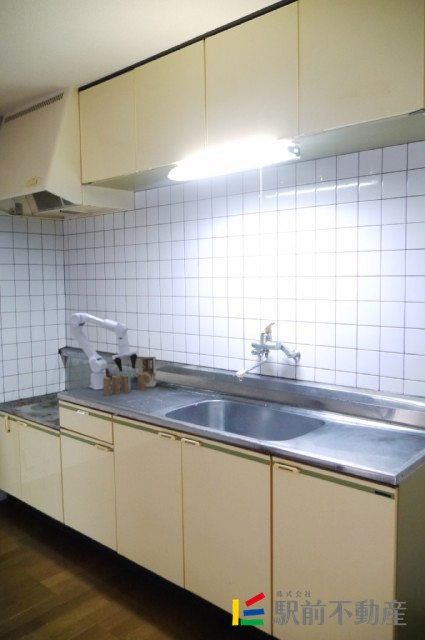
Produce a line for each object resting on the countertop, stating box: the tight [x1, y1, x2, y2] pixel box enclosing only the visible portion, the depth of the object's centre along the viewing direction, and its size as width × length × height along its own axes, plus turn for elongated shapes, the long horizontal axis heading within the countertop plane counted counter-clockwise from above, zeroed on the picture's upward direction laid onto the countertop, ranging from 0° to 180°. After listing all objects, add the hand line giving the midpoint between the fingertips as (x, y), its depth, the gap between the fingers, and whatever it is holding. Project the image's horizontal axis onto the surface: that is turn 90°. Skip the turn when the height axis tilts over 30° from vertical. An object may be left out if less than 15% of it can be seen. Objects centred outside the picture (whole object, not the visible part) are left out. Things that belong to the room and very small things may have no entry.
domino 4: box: [120, 374, 129, 394], centre depth 272 cm, size 2×5×9 cm, turn 34°
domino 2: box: [111, 375, 121, 395], centre depth 269 cm, size 2×5×9 cm, turn 34°
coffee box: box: [137, 356, 157, 388], centre depth 289 cm, size 9×6×16 cm
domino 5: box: [137, 373, 146, 392], centre depth 278 cm, size 2×5×9 cm, turn 34°
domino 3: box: [122, 371, 132, 390], centre depth 281 cm, size 2×5×9 cm, turn 34°
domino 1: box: [102, 376, 112, 396], centre depth 266 cm, size 2×5×9 cm, turn 34°
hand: (127, 369), depth 279 cm, fingers open, 7 cm apart
